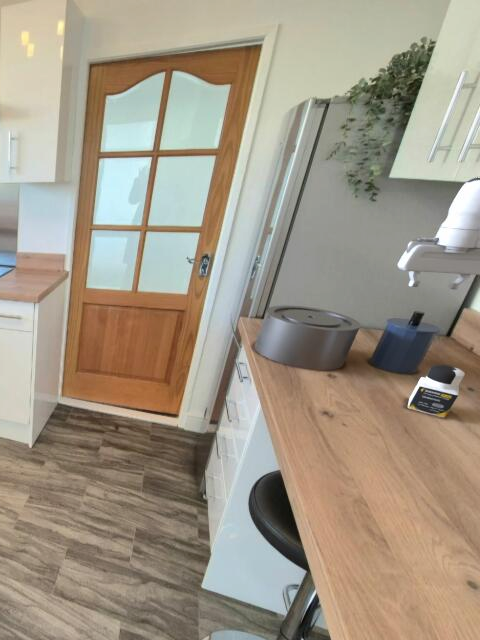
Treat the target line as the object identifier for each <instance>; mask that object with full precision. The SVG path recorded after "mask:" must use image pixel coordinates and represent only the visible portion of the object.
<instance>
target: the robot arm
mask: <svg viewBox="0 0 480 640" xmlns="http://www.w3.org/2000/svg"><path fill="white" fill-rule="evenodd" d="M476 177H477V178H476ZM476 177H473V178H470V179H469V180H467V181H466V182H464V184H463V185H462V186H461V188H460V189H459V190H458V192H457V194H456V196H454V199H453V200H452V203H451V204H450V207H449V208H448V213H447V217H446V219H445V220H444V221H443V222H442V224H440V226H439V229H438V230H437V233H436V234H435V236H434V237H424V236H423V237H421V236H420V237H417V238H415V239H412V240H411V241H409V243H408V244H407V246H406V249H405V251H404V252H403V254H402V255H401V257H400V259H399V261H398V262H397V267H398V269H399V270H401V271H404V272H408V276H409V279H410V280H409V282H408V287H411V288H418V287H419V284H420V283H421V281H420V280H419V279H418V276H419V275H420V274H421V272H422V273H437V274H438V273H439V274H441V273H442V274H456V275H457V278H456V279H455V280H454V281H450V282H449V283H448V284H447V287H446V288H447V289H448V290H458V289H459V286H460V285H462V284H463V283H464V282H466V281H467V280H469V278H470V277H471V275H474V276H480V178H478V177H479V176H476Z"/></svg>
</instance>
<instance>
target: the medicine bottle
mask: <svg viewBox="0 0 480 640" xmlns="http://www.w3.org/2000/svg"><path fill="white" fill-rule="evenodd" d="M464 377H465V372H464V371H463V370H462V369H460V368H457V367H455V366H451V365H445V364H434V365H432V366H431V367H430V369H429V370H428V373H427V374H426V376H421V377H420V378H419V380H418V382H417V384H416V386H415V387H414V389H413V391H412V393H411V394H410V396H409V399H408V404H407V408H408V410H409V409H410V410H413V411H416V412H420V413H425V414H428V415H432V416H435V417H439V418H443V419H445V418H446V417H447V415H448V414H449V412H450V410H451V408H452V407H453V405H454V403H455V402H456V400H457V399H458V398H459V392H460V389H459V387H460V384H461V382H462V381H463V378H464Z"/></svg>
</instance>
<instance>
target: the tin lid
mask: <svg viewBox="0 0 480 640" xmlns="http://www.w3.org/2000/svg"><path fill="white" fill-rule="evenodd" d="M425 314H426V313H425V312H424V311H420V310H414V311H413V312H412V315H411V317H410V318H409V319H408V318H401V317H400V318H398V317H397V318H396V317H395V318H394V317H393V318H387V320H386V325H387V324H389V325H391V326H393V327H396V328H399V329H402V330H407V331H412V332H418V333H428V334H435V333H437V334H439V333H440V332H441V331H442V328H440V327H439V326H438V325H434V324H431V323H428V322H425V321H422V320H423V318H424V317H425Z"/></svg>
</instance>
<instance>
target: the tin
mask: <svg viewBox="0 0 480 640" xmlns="http://www.w3.org/2000/svg"><path fill="white" fill-rule="evenodd" d="M437 334H438V333H435V334H428V333H418V332H412V331H407V330H402V329H399V328H396V327H393V326H391V325H389V324H387V323H386V326H385V328H384V330H383V332H382V334H381V336H380V338H379V340H378V343H377V344H376V347H375V349H374V350H373V353H372V355H371V357H370V360H369V364H371V365H372V366H374V367H375V368H377V369H378V368H379V369H381V370H384V371H388V372H391V373H398V374H405V375H412V374H415V373H416V372H417V371H418V369H419V368H420V366H421V364H422V361H423V360H424V358H425V357H426V354H427V353H428V352H429V349H430V347H431V345H432V344H433V342H434V340H435V338H436V336H437Z"/></svg>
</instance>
